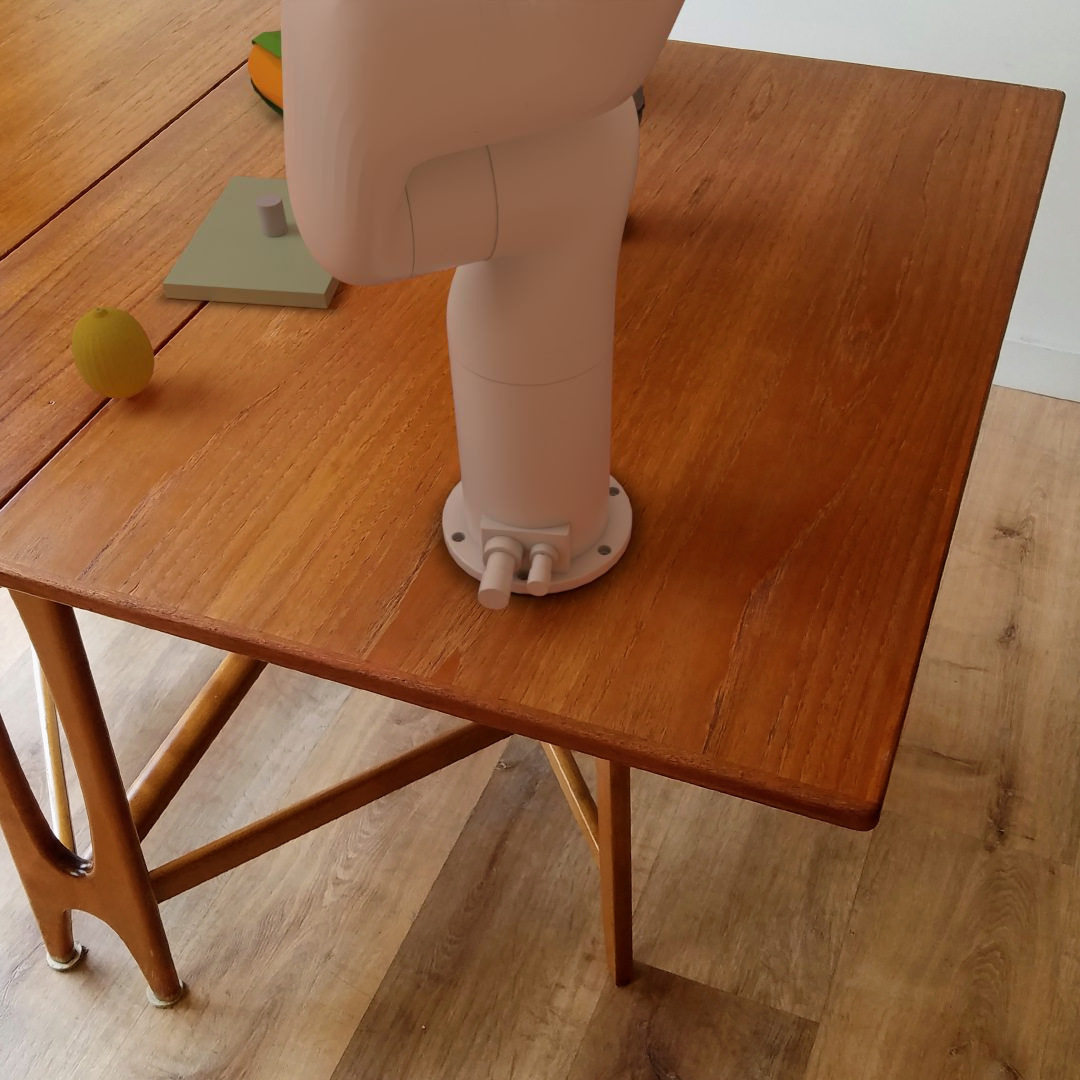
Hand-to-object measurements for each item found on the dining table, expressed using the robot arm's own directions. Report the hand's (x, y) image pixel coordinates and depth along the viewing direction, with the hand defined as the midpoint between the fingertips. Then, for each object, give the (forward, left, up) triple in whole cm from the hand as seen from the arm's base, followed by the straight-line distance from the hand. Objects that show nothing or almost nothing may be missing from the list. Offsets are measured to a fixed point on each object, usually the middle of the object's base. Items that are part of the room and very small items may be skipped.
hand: (368, 107), depth 85 cm
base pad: (+6, +12, -16) cm, 21 cm away
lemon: (-16, +17, -16) cm, 28 cm away
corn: (+30, +16, -16) cm, 38 cm away
